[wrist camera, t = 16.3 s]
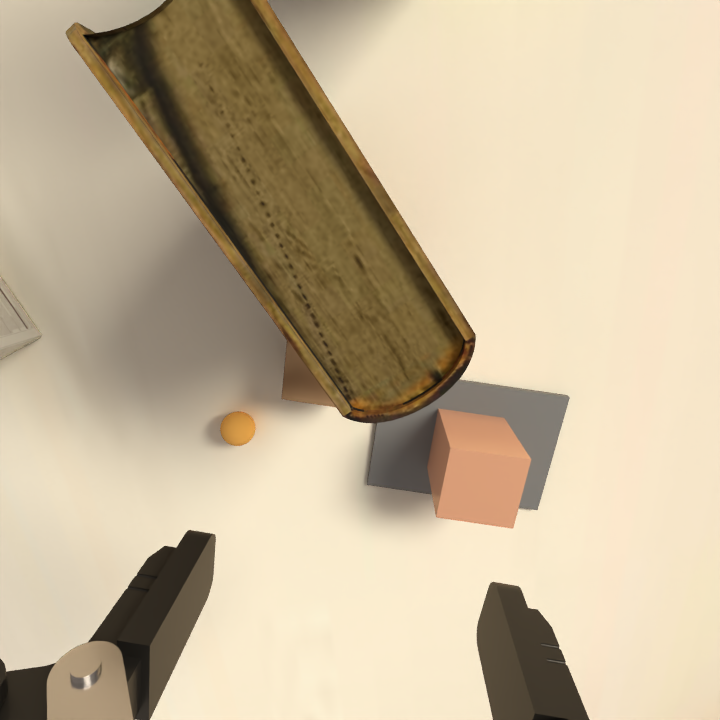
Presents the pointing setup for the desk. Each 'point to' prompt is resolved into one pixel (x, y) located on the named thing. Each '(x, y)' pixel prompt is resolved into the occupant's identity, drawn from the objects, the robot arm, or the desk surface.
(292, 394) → the walnut block
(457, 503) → the peach cube
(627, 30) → the desk surface
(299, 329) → the antique leather tome
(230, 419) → the orange ball
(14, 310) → the supplement box
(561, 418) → the rubber mat
